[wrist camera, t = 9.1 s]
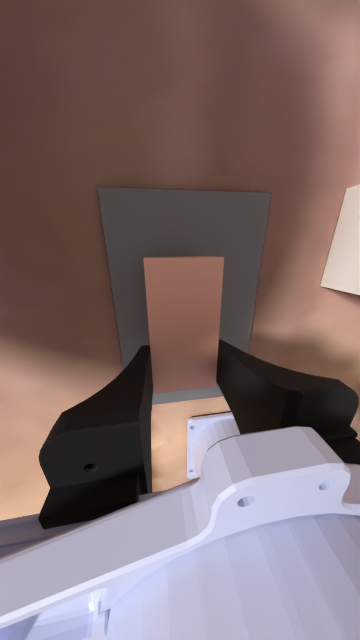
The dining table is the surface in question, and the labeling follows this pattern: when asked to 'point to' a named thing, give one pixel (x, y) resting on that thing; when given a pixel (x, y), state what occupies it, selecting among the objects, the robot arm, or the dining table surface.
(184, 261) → the tall pink rectangular block
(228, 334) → the mat
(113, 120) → the dining table surface
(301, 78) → the dining table surface
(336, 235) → the panel
